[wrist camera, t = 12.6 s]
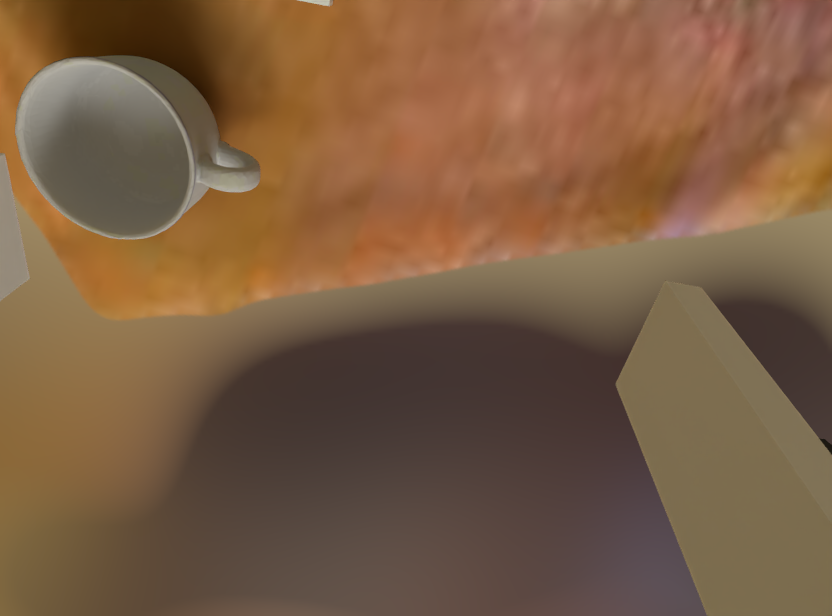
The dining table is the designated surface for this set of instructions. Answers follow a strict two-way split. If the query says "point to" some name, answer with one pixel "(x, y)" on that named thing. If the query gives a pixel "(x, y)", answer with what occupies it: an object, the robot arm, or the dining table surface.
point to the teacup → (124, 144)
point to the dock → (320, 2)
